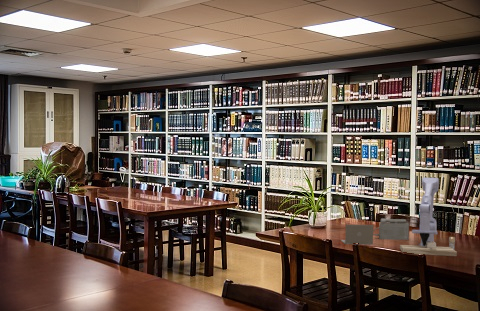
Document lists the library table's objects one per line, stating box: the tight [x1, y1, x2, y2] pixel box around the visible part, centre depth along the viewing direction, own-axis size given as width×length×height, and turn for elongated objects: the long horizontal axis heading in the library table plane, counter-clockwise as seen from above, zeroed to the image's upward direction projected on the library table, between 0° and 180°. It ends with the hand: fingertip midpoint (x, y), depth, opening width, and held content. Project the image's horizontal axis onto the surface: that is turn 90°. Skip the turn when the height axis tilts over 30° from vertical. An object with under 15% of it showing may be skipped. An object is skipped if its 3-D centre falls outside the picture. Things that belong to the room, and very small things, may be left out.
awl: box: [448, 236, 456, 250], centre depth 315 cm, size 3×3×8 cm
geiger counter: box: [373, 218, 410, 241], centre depth 347 cm, size 14×6×25 cm
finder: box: [426, 240, 437, 248], centre depth 310 cm, size 5×5×3 cm
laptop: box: [340, 224, 374, 245], centre depth 334 cm, size 18×12×13 cm
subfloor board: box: [399, 244, 458, 257], centre depth 307 cm, size 13×30×3 cm, turn 82°
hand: (424, 245), depth 311 cm, fingers closed
